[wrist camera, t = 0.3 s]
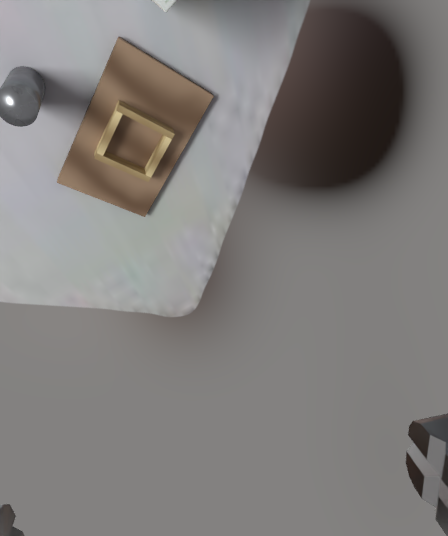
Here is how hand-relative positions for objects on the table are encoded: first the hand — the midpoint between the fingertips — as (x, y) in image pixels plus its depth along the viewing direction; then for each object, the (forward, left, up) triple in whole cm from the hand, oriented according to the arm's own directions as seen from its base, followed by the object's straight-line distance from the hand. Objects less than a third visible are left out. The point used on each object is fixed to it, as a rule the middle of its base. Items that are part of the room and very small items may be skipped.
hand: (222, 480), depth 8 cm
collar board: (+11, +7, -51) cm, 52 cm away
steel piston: (+11, -7, -51) cm, 52 cm away
